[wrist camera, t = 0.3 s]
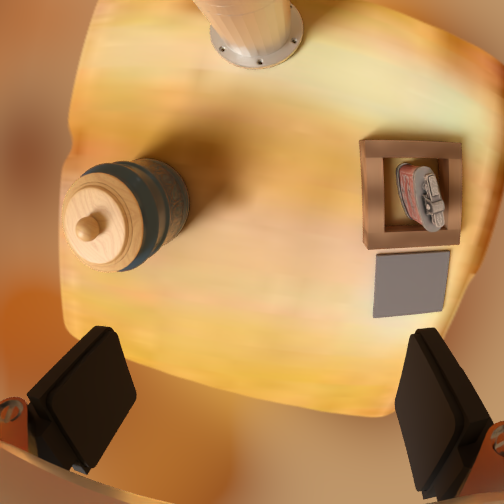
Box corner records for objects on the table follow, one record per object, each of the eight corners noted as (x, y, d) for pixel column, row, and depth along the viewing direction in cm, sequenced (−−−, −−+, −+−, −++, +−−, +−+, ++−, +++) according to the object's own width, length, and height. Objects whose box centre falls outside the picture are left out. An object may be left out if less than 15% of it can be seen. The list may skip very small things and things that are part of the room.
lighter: (425, 215, 40) (455, 233, 31) (404, 221, 41) (431, 241, 32) (412, 160, 38) (443, 164, 29) (391, 166, 39) (417, 171, 30)
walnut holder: (359, 140, 39) (364, 140, 35) (449, 142, 37) (461, 143, 33) (362, 242, 43) (368, 249, 40) (449, 237, 41) (459, 244, 38)
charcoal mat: (376, 254, 43) (377, 256, 43) (448, 250, 41) (449, 251, 41) (372, 316, 46) (373, 318, 46) (440, 309, 44) (442, 311, 44)
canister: (197, 241, 46) (146, 292, 30) (122, 246, 48) (53, 291, 32) (186, 151, 42) (122, 156, 26) (109, 165, 44) (29, 180, 28)
